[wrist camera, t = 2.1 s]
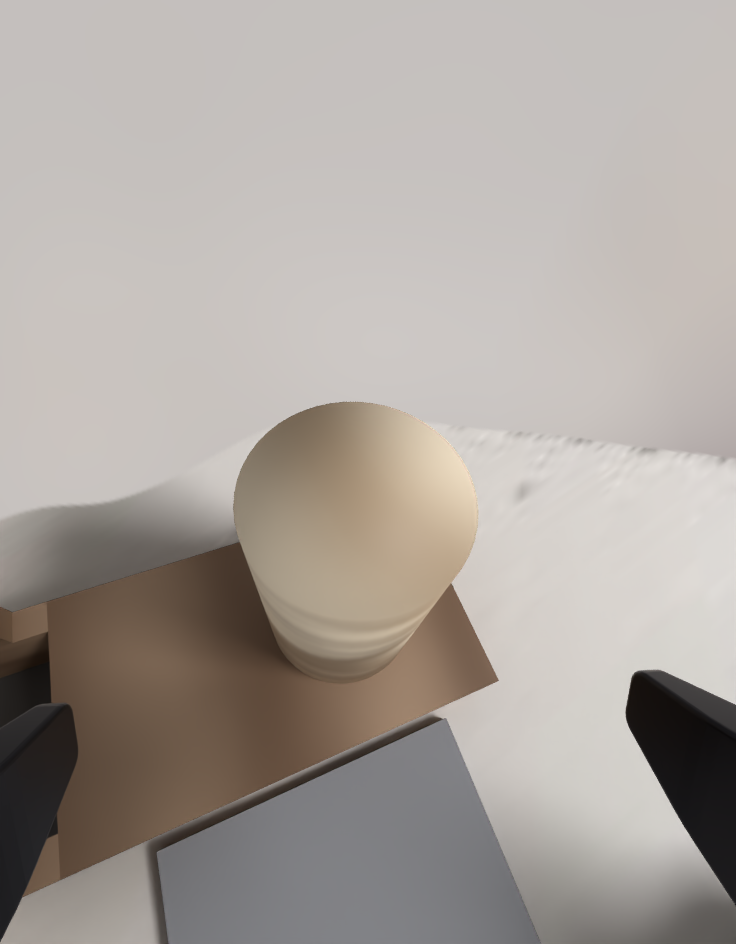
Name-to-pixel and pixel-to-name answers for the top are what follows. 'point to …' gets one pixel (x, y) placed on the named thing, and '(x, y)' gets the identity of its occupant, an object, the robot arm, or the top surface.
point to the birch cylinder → (352, 533)
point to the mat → (352, 860)
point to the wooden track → (199, 698)
